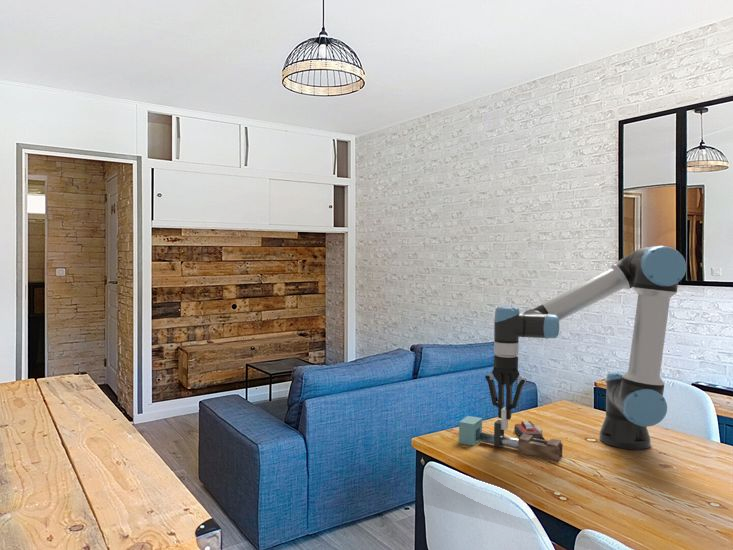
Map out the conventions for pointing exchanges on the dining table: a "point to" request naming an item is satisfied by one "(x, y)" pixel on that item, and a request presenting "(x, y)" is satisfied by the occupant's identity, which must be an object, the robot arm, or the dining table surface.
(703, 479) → the dining table surface
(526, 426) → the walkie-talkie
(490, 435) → the rod
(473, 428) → the socket
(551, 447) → the sleeve
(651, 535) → the dining table surface
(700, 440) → the dining table surface
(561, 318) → the robot arm
